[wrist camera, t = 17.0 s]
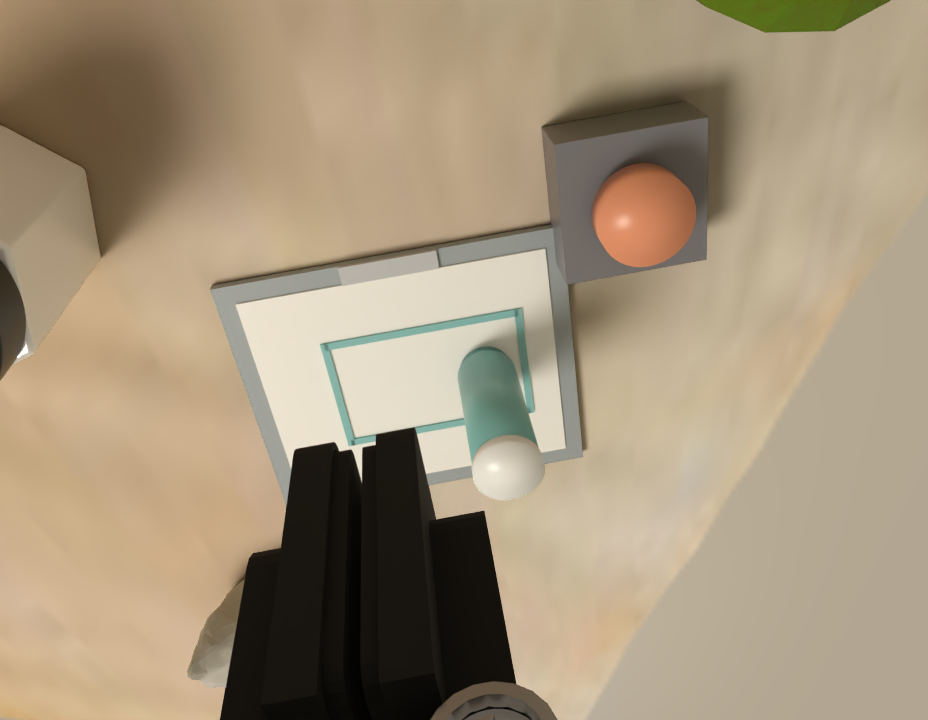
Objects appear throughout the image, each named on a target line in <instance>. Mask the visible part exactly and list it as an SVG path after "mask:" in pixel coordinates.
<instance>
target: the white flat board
mask: <svg viewBox="0 0 928 720" xmlns="http://www.w3.org/2000/svg"><path fill="white" fill-rule="evenodd" d="M210 291H211V294H212V296H213V299H214V302H215V305H216V308H217V310H218V313H219V316H220V319H221V322H222V325H223V327H224V330H225V333H226V336H227V339H228V342H229V344H230V347H231V350H232V353H233V356H234V358H235V361H236V364H237V367H238V370H239V373H240V375H241V378H242V381H243V384H244V387H245V390H246V392H247V395H248V398H249V401H250V404H251V407H252V409H253V412H254V415H255V418H256V421H257V423H258V426H259V429H260V432H261V435H262V438H263V440H264V443H265V446H266V449H267V452H268V455H269V457H270V460H271V463H272V466H273V469H274V472H275V474H276V477H277V480H278V483H279V486H280V488H281V491H282V494H283V497H284V500H285V503H286V505H287V499H288V491H289V483H290V476H291V468H292V460H293V454H294V450H295V449H298V448H303V447H309V446H314V445H320V444H325V443H331V442H335V443H336V445H337V447H338V449H339V451H345V450H350V449H351V450H352V451H353V453H354V457H355V460H356V463H357V467H358V471H359V474H360V478H361V481H362V448H363V447H367V446H372V445H376V434H380V433H385V432H391V431H396V430H402V429H407V428H413V427H415V429H416V433H417V437H418V441H419V445H420V450H421V454H422V459H423V463H424V468H425V472H426V477H427V481H428V485H433V484H438V483H444V482H449V481H455V480H460V479H466V478H471V477H473V475H472V468H471V465H472V462H471V456H470V450H469V444H468V438H467V432H466V426H465V420H464V414H463V408H462V402H461V396H460V390H459V385H458V371H459V368H460V366H461V363H462V360H463V359H464V357H465V356H466V355H467V354H468V353H469V352H471V351H472V350H474V349H477V348H480V347H494V348H497V349H499V350H501V351H502V352H504V353H505V354H506V355H507V356H508V357H509V358H510V359H511V360H512V362H513V363H514V366H515V368H516V372H517V375H518V379H519V382H520V386H521V389H522V392H523V396H524V399H525V403H526V406H527V410H528V413H529V416H530V420H531V423H532V427H533V430H534V434H535V437H536V440H537V444H538V447H539V449H540V451H541V454H542V457H543V460H544V464H548V463H553V462H558V461H564V460H569V459H575V458H580V457H583V452H582V440H581V429H580V418H579V406H578V395H577V384H576V372H575V361H574V350H573V338H572V327H571V316H570V304H569V293H568V285H566V283H565V281H564V279H563V277H562V274H561V272H560V270H559V268H558V266H557V264H556V256H555V245H554V235H553V227H552V225H551V224H550V225H545V226H539V227H534V228H528V229H522V230H517V231H511V232H506V233H500V234H495V235H489V236H484V237H478V238H472V239H467V240H461V241H456V242H450V243H445V244H439V245H434V246H428V247H422V248H417V249H411V250H406V251H400V252H395V253H389V254H384V255H378V256H372V257H367V258H361V259H356V260H350V261H345V262H339V263H334V264H328V265H322V266H317V267H311V268H306V269H300V270H295V271H289V272H284V273H278V274H272V275H267V276H261V277H256V278H250V279H245V280H239V281H234V282H228V283H222V284H217V285H212V286H211V289H210Z"/></svg>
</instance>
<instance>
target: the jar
mask: <svg viewBox="0 0 928 720" xmlns="http://www.w3.org/2000/svg"><path fill="white" fill-rule="evenodd" d="M99 260H100V251H99V245H98V239H97V234H96V228H95V222H94V217H93V211H92V205H91V200H90V194H89V188H88V183H87V177H86V172H85V170H84V169H83V168H82V167H81V166H79V165H77V164H75V163H73V162H71V161H69V160H67V159H65V158H63V157H61V156H60V155H58V154H56V153H54V152H52V151H50V150H48V149H46V148H44V147H42V146H40V145H38V144H37V143H35V142H33V141H31V140H29V139H27V138H25V137H23V136H21V135H19V134H17V133H16V132H14V131H12V130H10V129H8V128H6V127H4V126H2V125H0V380H1V379H2V378H3V376H4V375H5V374H6V372H7V371H8V370H9V368H10V367H11V366H12V365H13V364H15V363H17V362H19V361H21V360H23V359H25V358H27V357H29V356H31V355H33V354H34V353H35V351H36V350H37V349H38V347H39V346H40V344H41V343H42V341H43V340H44V339H45V337H46V336H47V334H48V333H49V331H50V330H51V329H52V327H53V326H54V324H55V323H56V321H57V320H58V319H59V317H60V316H61V314H62V313H63V312H64V310H65V309H66V307H67V306H68V304H69V303H70V302H71V300H72V299H73V297H74V296H75V294H76V293H77V292H78V290H79V289H80V287H81V286H82V285H83V283H84V282H85V280H86V279H87V277H88V276H89V275H90V273H91V272H92V270H93V269H94V267H95V266H96V265H97V263H98V262H99Z"/></svg>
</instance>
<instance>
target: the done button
mask: <svg viewBox="0 0 928 720" xmlns="http://www.w3.org/2000/svg"><path fill="white" fill-rule="evenodd" d="M591 220H592V226H593V229H594V231H595V234H596V235H597V237H598V239H599V240H600V242H601V243H602V245H603V246H604V248H605V249H606V251H607V252H608V253H609V255H610V256H611V257H613V258H614V259H615V260H617V261H618V262H620V263H622V264H625V265H628V266H632V267H648V266H653V265H656V264H659V263H662V262H664V261H666V260H667V259H669V258H671V257H672V256H673V255H675V254H676V253H677V252H678V251H679V250H680V249H681V248H682V247H683V246H684V245H685V243H686V242H687V241H688V239H689V237H690V235H691V233H692V231H693V228H694V225H695V221H696V205H695V201H694V198H693V195H692V194H691V192H690V190H689V189H688V188H687V186H686V185H685V184H683V183H682V182H681V181H680V180H679V179H678V178H677V177H676V176H675V175H674V174H673V173H672V172H671V171H669V170H668V169H666V168H664V167H662V166H660V165H657V164H652V163H638V164H633V165H630V166H627V167H624V168H622V169H620V170H618V171H617V172H615V173H614V174H613V175H611V176H610V177H609V178H608V179H607V180H606V181H605V182H604V183H603V184H602V186H601V187H600V189H599V190H598V192H597V194H596V196H595V198H594V201H593V205H592V211H591Z"/></svg>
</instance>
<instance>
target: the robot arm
mask: <svg viewBox="0 0 928 720" xmlns="http://www.w3.org/2000/svg"><path fill="white" fill-rule="evenodd" d="M220 720H557V718H556V716H555V715H554V713H553V712H552V710H551V708H550V707H549V705H548V704H547V703H546V702H545V701H544V700H543V699H541V698H540V697H539V696H538V695H537V694H535V693H534V692H533V691H531V690H529V689H526V688H524V687H521V686H519V685H517V684H516V680H515V675H514V669H513V664H512V658H511V653H510V648H509V642H508V637H507V631H506V626H505V620H504V615H503V610H502V604H501V599H500V593H499V588H498V582H497V577H496V572H495V566H494V561H493V555H492V550H491V545H490V539H489V534H488V528H487V523H486V517H485V512H484V511H480V512H475V513H470V514H464V515H459V516H453V517H448V518H442V519H437V520H436V517H435V512H434V508H433V503H432V499H431V494H430V490H429V485H428V481H427V477H426V472H425V468H424V463H423V459H422V454H421V450H420V445H419V441H418V437H417V433H416V429H415V427H413V428H407V429H402V430H396V431H391V432H385V433H380V434H376V445H372V446H367V447H363V448H362V481H361V478H360V474H359V471H358V467H357V463H356V460H355V457H354V453H353V451H352V450H351V449H350V450H345V451H339V449H338V447H337V445H336V443H335V442H331V443H325V444H320V445H314V446H309V447H303V448H298V449H295V450H294V454H293V460H292V468H291V476H290V483H289V491H288V499H287V506H286V514H285V522H284V529H283V537H282V545H281V548H279V549H274V550H268V551H263V552H257V553H253V554H252V555H251V557H250V558H249V561H248V565H247V569H246V575H245V580H244V586H243V592H242V598H241V603H240V609H239V615H238V620H237V626H236V632H235V637H234V643H233V649H232V654H231V660H230V666H229V671H228V677H227V683H226V688H225V694H224V700H223V705H222V711H221V717H220Z"/></svg>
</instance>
